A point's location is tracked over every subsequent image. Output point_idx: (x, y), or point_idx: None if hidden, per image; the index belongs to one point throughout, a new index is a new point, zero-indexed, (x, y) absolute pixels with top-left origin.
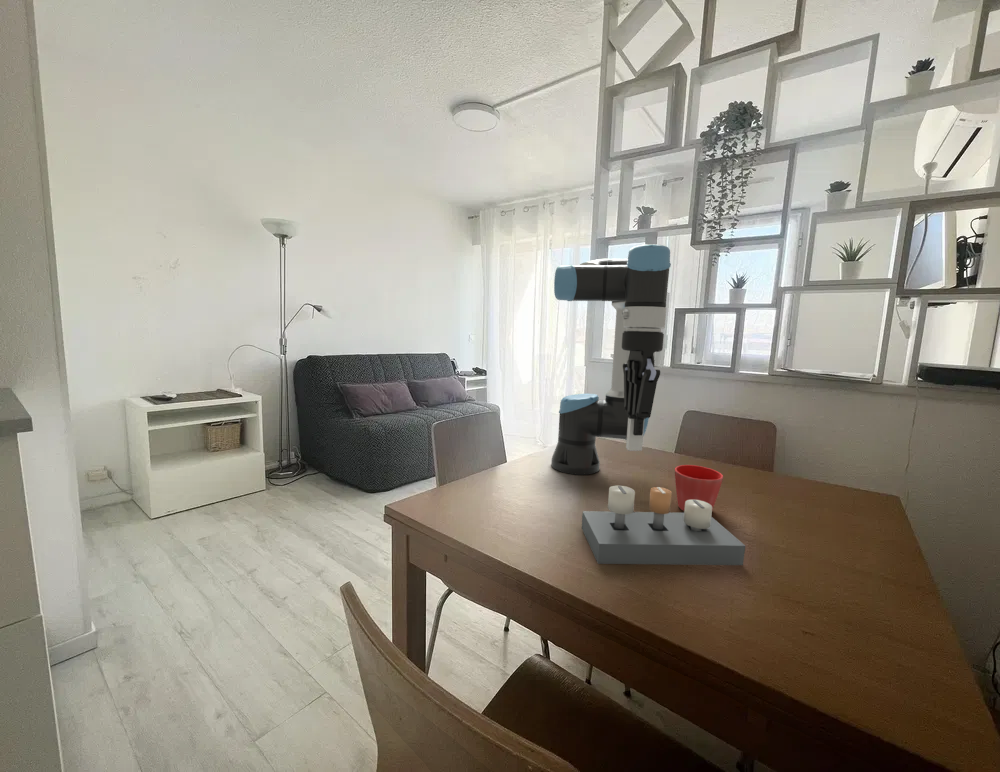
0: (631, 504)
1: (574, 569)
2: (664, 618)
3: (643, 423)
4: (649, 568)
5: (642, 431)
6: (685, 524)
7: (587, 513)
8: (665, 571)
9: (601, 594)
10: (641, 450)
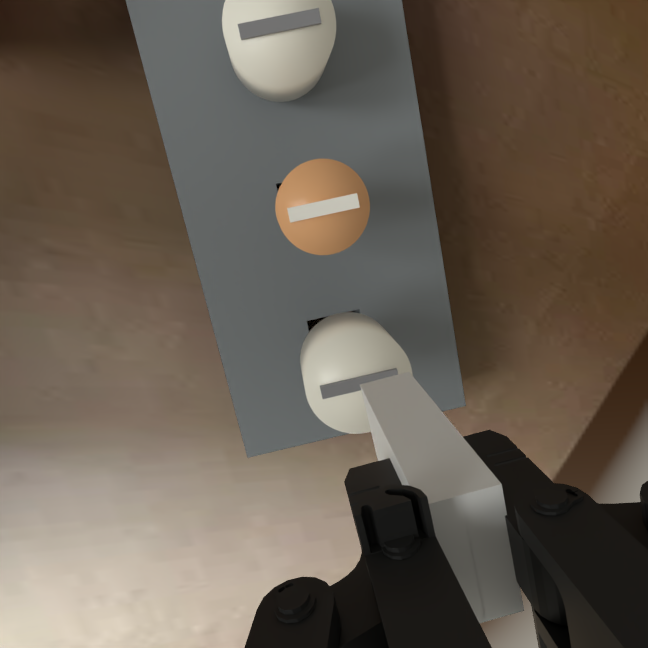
0: (388, 333)
1: None
2: (639, 247)
3: (480, 464)
4: (443, 249)
5: (512, 445)
6: None
7: (263, 441)
8: (450, 206)
9: (572, 378)
10: (409, 375)
